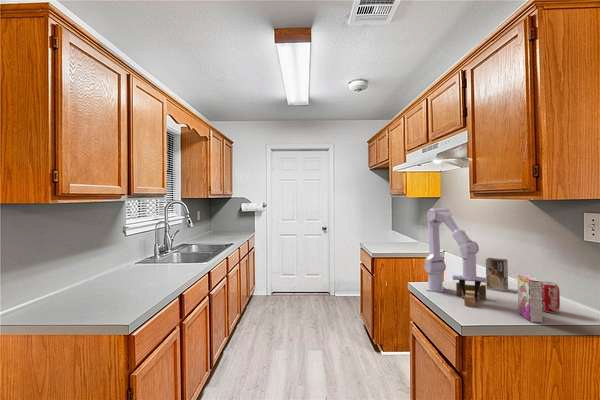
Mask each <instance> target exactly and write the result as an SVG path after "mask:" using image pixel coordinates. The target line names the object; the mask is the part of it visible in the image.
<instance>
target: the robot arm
mask: <svg viewBox="0 0 600 400" xmlns="http://www.w3.org/2000/svg"><path fill="white" fill-rule="evenodd" d="M426 213H427V225H428V226H427V229H428V251H429V255H428V256H426V258H425V259H424V265H423V267H424V271H426V272H425V273H427V282H428V283H427V285H428V286H427V288H426V291H430V292H440V293H442V292H444V290H445V287H444V285H443V284H444V283H443V274H444V272H445V271H446V269H447V265H446V262H445V258H444V257H443V256H442V255H441V245H440V243H441V241H440V240H441V239H440V225H442V224H443V223H444V225H445V226H446V227H447V228H448V229H449V230H450V231H451V233H452V238H453V239H454V240H455V242H456V243H457V245H458V246H459V249H458V250H459V253H460V254H461V258H462V275H452V281H458V283H459V284H460V286H461V288H462V290H463V294H464V297H465V293H466V291H465V284H466V282H474V285H475V298H476V295H477V291H478V289H479V287H480V286H481V285H482V283H485V284H486V283H487V278H486V277H483V276H482V277H481V276H477V253H478V252H479V251H480V249H479V245H478V243H477V242H476V241H474V240H472V239H470V237H469V236H468V235H467V233H466V231H465V230H463V229H460V228H459V226H458V224H456V221H455V220H454V219H453V217H452V212H451V211H450V209H449V208H447V207H443V208H442V207H441V208H440V207H439V208H430V209H429V210H427V212H426ZM476 299H477V298H476Z"/></svg>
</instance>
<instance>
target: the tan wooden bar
mask: <svg viewBox="0 0 600 400" xmlns="http://www.w3.org/2000/svg"><path fill="white" fill-rule="evenodd" d="M476 301H477V298H475V291H473V290H466V293H465V297H464V304H463V305H464V306H465V307H471V308H474V307H475V306H476Z"/></svg>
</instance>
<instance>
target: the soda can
mask: <svg viewBox="0 0 600 400" xmlns="http://www.w3.org/2000/svg"><path fill="white" fill-rule="evenodd" d="M542 298H543V312H544V311H545V312H544V313H547V312H549V313H548V314H557V313H559V312H560V309H561V299H560V298H561V297H560V287H559V286H558V283H556V282H552V281H542Z"/></svg>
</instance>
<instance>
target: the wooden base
mask: <svg viewBox="0 0 600 400" xmlns="http://www.w3.org/2000/svg"><path fill="white" fill-rule="evenodd" d="M455 285H456V287H455V290H456V297H461V298H462V299H464V294H463V290H462V288H461V286H460V284H459V282H456V283H455ZM466 290H473V291H475V284H466V283H465V291H466ZM486 299H487V285H486V284H481V285H480V287H479V289H478V291H477V295H476V301H480V300H486Z"/></svg>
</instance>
